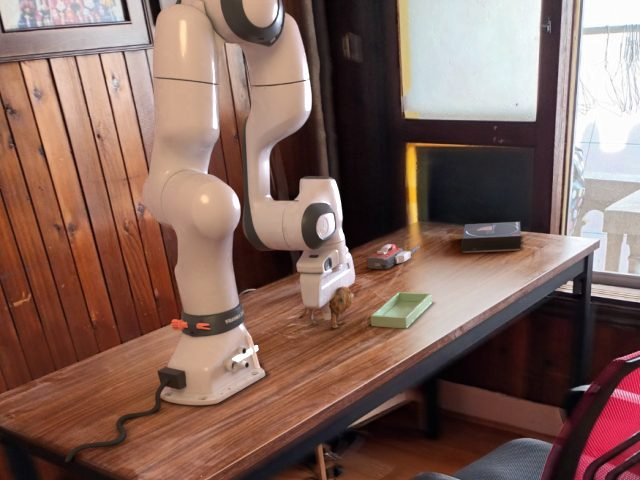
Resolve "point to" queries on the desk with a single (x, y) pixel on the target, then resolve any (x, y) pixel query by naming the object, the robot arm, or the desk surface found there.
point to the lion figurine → (335, 306)
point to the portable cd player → (491, 237)
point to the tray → (401, 310)
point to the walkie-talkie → (389, 257)
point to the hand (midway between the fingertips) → (333, 315)
